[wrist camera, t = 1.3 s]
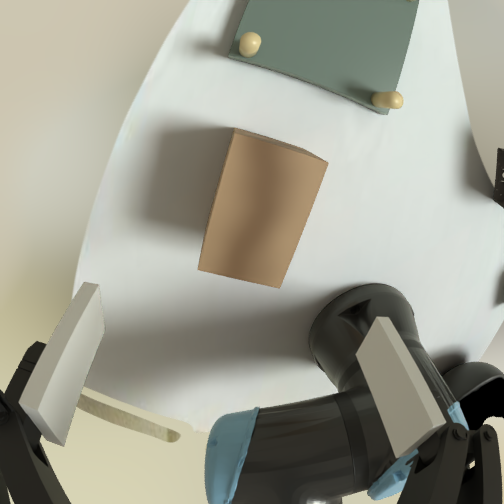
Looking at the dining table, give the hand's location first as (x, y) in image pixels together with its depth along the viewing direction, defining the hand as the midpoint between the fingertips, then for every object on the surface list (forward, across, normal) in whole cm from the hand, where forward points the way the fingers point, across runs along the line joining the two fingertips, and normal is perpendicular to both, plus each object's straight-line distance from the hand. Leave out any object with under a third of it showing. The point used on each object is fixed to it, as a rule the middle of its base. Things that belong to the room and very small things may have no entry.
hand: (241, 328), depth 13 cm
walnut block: (+18, -2, -1) cm, 19 cm away
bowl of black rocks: (+17, -50, +28) cm, 60 cm away
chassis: (+19, -6, -21) cm, 29 cm away
